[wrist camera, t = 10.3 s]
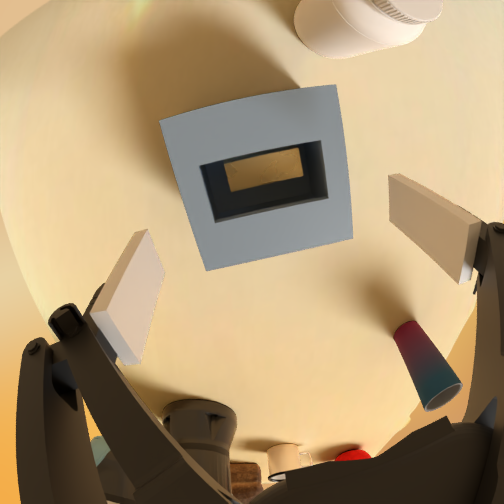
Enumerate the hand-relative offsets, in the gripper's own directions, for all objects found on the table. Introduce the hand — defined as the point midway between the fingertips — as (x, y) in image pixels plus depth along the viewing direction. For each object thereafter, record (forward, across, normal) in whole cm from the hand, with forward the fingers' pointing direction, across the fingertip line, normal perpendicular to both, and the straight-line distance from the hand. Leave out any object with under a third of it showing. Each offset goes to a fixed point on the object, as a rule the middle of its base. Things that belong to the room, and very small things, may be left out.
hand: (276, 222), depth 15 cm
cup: (+16, +20, -32) cm, 42 cm away
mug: (+18, -5, -71) cm, 74 cm away
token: (+15, +1, +1) cm, 15 cm away
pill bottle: (+16, +11, +13) cm, 24 cm away
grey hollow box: (+16, 0, +1) cm, 16 cm away
